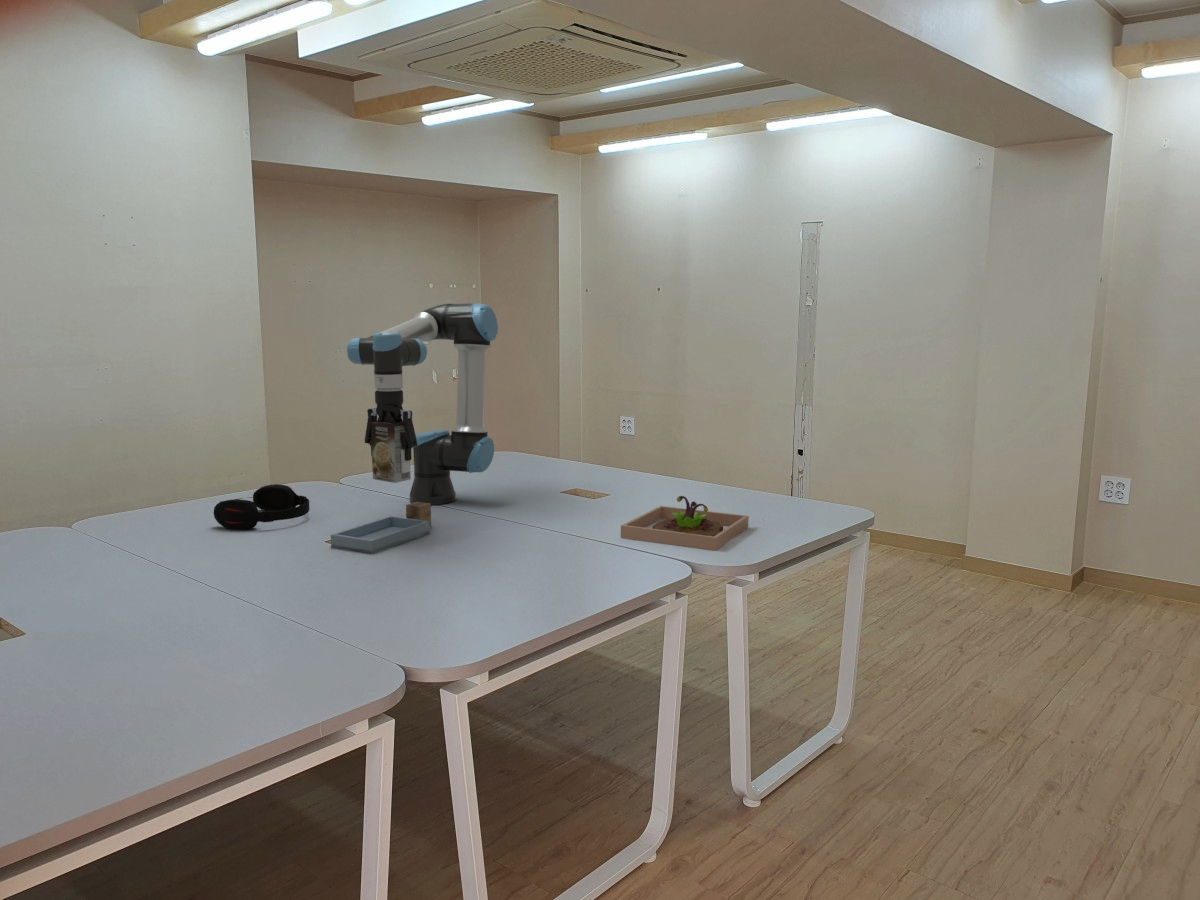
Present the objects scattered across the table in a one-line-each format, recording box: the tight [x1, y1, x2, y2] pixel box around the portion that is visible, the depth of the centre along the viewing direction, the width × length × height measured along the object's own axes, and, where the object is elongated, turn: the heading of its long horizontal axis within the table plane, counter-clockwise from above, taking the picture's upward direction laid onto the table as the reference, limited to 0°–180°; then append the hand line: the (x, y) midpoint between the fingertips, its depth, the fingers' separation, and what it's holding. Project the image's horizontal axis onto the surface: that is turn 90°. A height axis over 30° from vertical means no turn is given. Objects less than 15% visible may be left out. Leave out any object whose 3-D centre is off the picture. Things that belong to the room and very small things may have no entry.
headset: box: [212, 483, 310, 531], centre depth 262 cm, size 28×26×9 cm
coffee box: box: [371, 422, 412, 484], centre depth 240 cm, size 9×6×16 cm
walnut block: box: [405, 502, 432, 528], centre depth 253 cm, size 5×5×7 cm
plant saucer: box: [620, 505, 749, 551], centre depth 249 cm, size 28×28×4 cm
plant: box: [651, 495, 724, 536], centre depth 248 cm, size 20×20×11 cm
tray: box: [330, 515, 431, 555], centre depth 240 cm, size 14×24×4 cm, turn 153°
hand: (391, 470), depth 241 cm, fingers closed on coffee box, 9 cm apart
